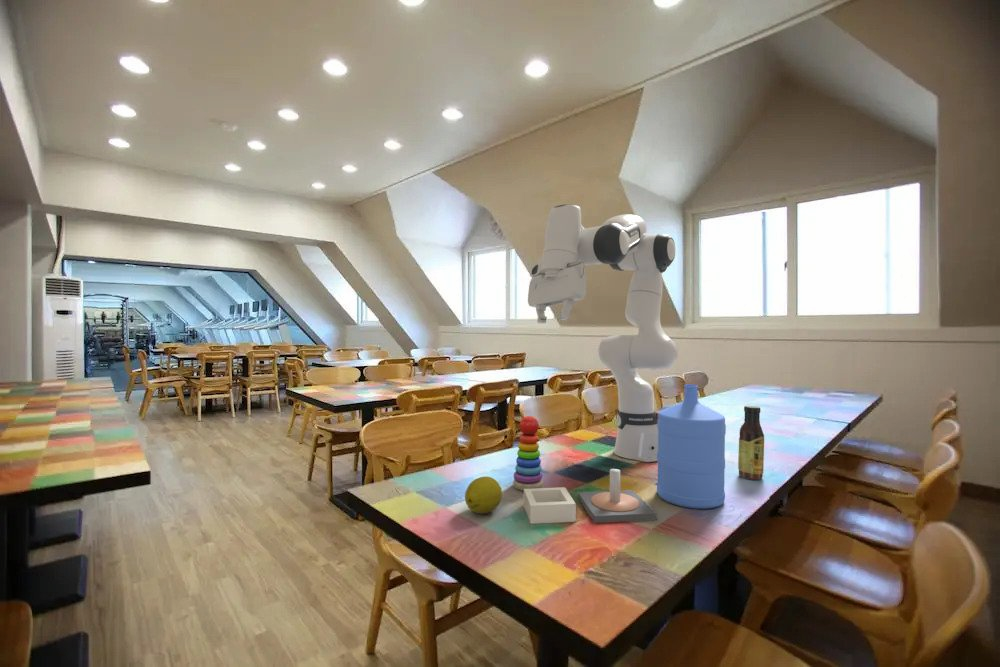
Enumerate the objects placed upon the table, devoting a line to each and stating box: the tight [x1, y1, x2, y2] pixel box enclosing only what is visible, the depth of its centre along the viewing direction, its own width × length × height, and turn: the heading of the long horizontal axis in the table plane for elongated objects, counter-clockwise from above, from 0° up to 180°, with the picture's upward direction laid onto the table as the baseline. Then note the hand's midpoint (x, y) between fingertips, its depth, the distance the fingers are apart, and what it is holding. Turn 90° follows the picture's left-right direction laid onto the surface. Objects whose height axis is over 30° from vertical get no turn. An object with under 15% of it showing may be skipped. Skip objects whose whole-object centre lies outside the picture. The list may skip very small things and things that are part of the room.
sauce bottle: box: [737, 405, 765, 481], centre depth 130 cm, size 6×6×20 cm
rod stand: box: [577, 468, 657, 524], centre depth 109 cm, size 14×14×9 cm
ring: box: [523, 486, 577, 525], centre depth 107 cm, size 10×10×4 cm
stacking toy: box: [512, 415, 544, 492], centre depth 123 cm, size 8×8×19 cm
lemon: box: [464, 476, 503, 515], centre depth 107 cm, size 11×8×8 cm
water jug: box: [656, 384, 727, 510], centre depth 115 cm, size 16×16×28 cm
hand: (552, 321), depth 113 cm, fingers open, 8 cm apart
